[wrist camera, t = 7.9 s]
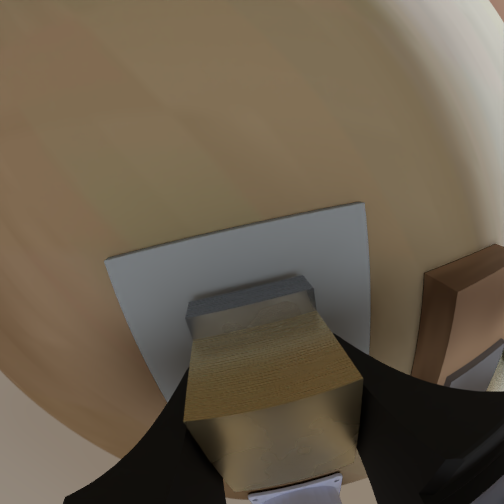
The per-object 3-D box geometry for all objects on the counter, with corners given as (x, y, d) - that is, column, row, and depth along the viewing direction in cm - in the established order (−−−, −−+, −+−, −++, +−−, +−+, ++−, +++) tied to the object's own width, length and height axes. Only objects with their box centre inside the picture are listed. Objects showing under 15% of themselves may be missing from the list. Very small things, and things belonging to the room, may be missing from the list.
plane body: (446, 422, 17) (461, 440, 14) (387, 455, 16) (399, 477, 14) (495, 243, 12) (529, 257, 9) (424, 272, 11) (465, 296, 8)
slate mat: (363, 386, 13) (366, 390, 12) (186, 427, 12) (186, 432, 12) (359, 201, 10) (364, 202, 10) (107, 257, 9) (103, 260, 9)
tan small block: (317, 392, 11) (352, 471, 7) (231, 413, 11) (240, 499, 6) (302, 275, 9) (364, 351, 5) (188, 301, 9) (168, 397, 5)
